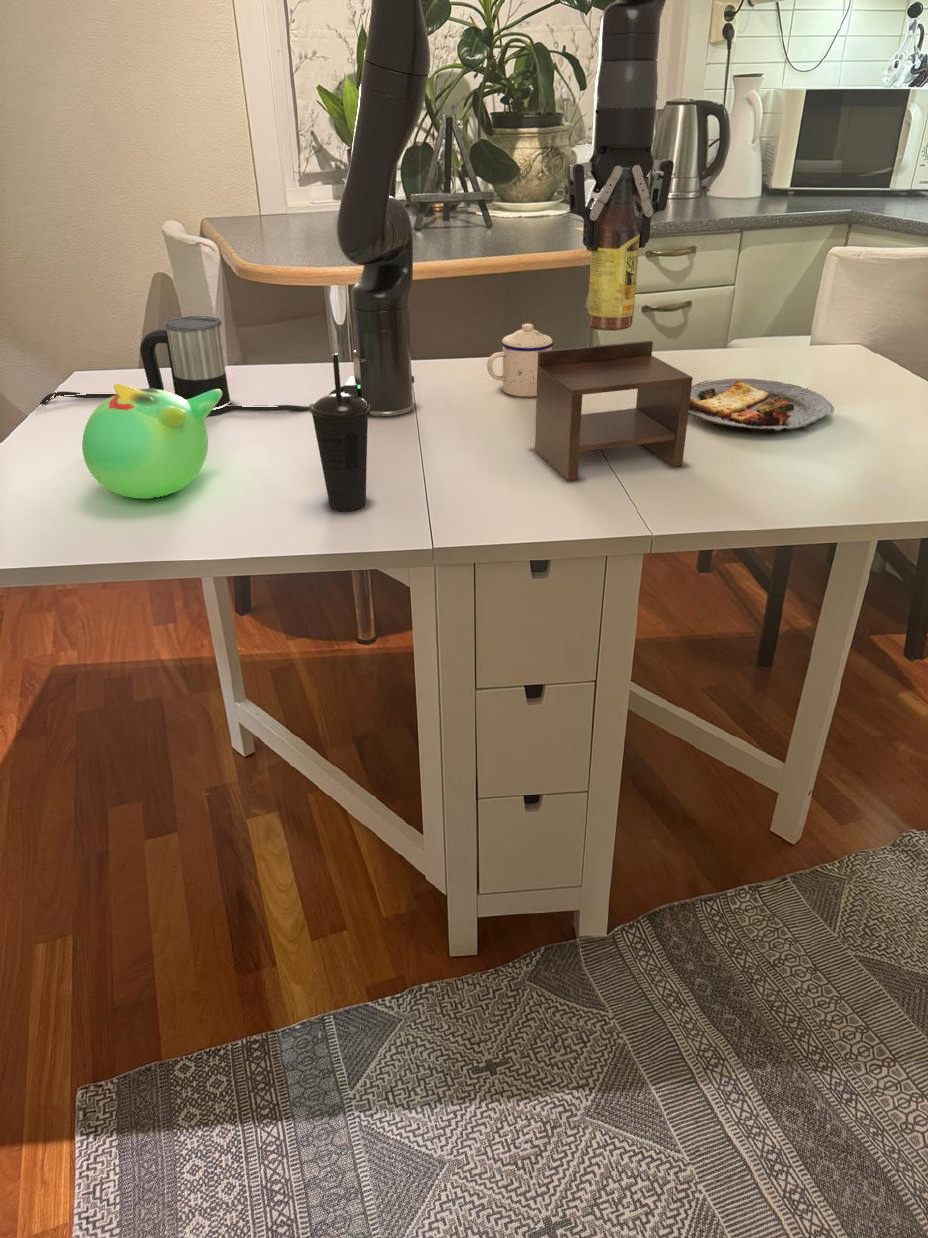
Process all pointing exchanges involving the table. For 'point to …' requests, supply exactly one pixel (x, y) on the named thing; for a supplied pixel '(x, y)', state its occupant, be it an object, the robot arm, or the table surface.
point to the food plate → (757, 404)
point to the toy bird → (147, 440)
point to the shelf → (606, 371)
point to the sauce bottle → (615, 261)
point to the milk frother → (189, 358)
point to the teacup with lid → (520, 361)
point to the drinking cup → (342, 445)
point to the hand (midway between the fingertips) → (615, 248)
